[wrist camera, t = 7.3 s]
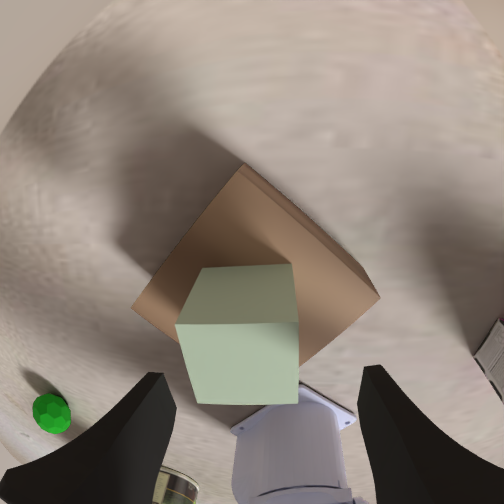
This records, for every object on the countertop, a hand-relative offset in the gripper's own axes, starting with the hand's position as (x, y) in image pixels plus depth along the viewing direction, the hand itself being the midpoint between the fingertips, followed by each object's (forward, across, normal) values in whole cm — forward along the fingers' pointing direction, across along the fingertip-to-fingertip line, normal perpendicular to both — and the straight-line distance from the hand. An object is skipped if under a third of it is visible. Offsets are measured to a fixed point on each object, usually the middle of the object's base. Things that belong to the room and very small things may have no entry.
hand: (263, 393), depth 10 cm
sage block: (+6, +1, 0) cm, 6 cm away
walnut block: (+10, +1, 0) cm, 10 cm away
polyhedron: (+11, +26, +16) cm, 32 cm away
